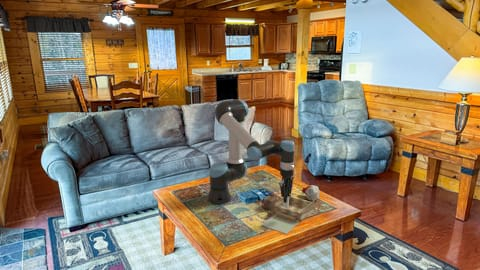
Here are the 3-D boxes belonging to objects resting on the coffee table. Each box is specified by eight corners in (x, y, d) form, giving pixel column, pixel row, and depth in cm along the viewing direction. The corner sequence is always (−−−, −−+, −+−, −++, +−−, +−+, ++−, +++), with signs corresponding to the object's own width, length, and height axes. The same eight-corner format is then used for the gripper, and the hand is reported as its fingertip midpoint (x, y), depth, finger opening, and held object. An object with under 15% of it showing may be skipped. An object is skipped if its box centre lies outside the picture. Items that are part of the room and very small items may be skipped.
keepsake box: (274, 212, 194) (274, 203, 193) (287, 202, 207) (288, 193, 206) (301, 221, 184) (301, 211, 182) (314, 210, 197) (314, 200, 195)
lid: (261, 226, 181) (261, 220, 180) (275, 214, 193) (275, 209, 192) (286, 235, 172) (286, 229, 171) (300, 222, 184) (300, 217, 183)
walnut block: (263, 207, 201) (263, 198, 200) (268, 204, 206) (268, 195, 204) (271, 210, 198) (271, 201, 196) (276, 206, 202) (276, 197, 201)
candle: (317, 203, 204) (297, 199, 215) (326, 197, 212) (306, 193, 223) (316, 190, 203) (296, 186, 213) (325, 184, 211) (305, 181, 221)
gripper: (287, 173, 173) (286, 213, 178) (298, 166, 183) (297, 204, 188) (275, 170, 177) (274, 209, 183) (286, 163, 187) (285, 201, 193)
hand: (286, 206), depth 186 cm, fingers closed
